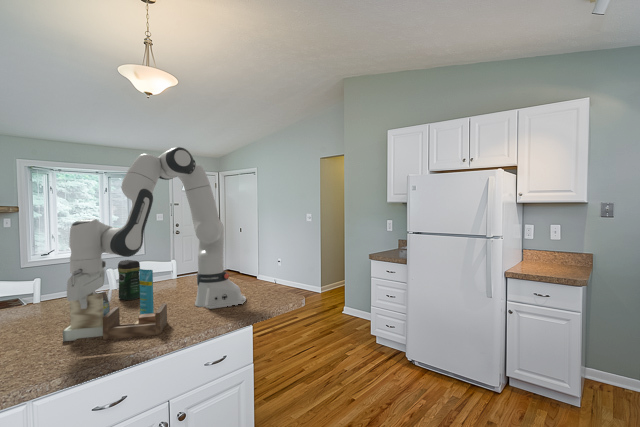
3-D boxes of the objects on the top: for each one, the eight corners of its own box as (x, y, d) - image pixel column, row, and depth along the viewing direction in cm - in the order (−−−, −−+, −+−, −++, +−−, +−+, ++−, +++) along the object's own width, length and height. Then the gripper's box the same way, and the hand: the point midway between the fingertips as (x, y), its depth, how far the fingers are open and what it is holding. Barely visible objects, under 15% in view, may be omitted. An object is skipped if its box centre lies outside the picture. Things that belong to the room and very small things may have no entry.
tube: (135, 317, 132) (133, 269, 132) (144, 313, 137) (143, 267, 136) (149, 319, 130) (148, 270, 129) (159, 315, 135) (158, 268, 134)
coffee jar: (143, 297, 161) (142, 259, 160) (127, 301, 154) (126, 262, 153) (132, 295, 165) (131, 258, 165) (115, 299, 158) (114, 260, 158)
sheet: (103, 327, 116) (102, 293, 116) (100, 329, 114) (100, 295, 113) (74, 329, 114) (73, 295, 113) (70, 332, 111) (69, 297, 111)
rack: (167, 324, 124) (166, 303, 124) (160, 335, 113) (160, 312, 113) (115, 328, 120) (114, 307, 120) (103, 341, 109) (102, 317, 109)
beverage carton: (86, 320, 130) (85, 303, 130) (85, 308, 145) (84, 293, 145) (110, 316, 135) (109, 300, 134) (106, 305, 150) (106, 290, 150)
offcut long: (158, 324, 122) (158, 318, 122) (156, 328, 119) (155, 322, 119) (137, 326, 121) (137, 320, 121) (134, 330, 117) (134, 324, 117)
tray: (111, 330, 118) (111, 321, 118) (105, 337, 112) (104, 327, 112) (71, 334, 115) (71, 324, 115) (63, 341, 109) (62, 330, 109)
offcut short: (157, 318, 122) (157, 312, 122) (155, 322, 119) (155, 315, 119) (140, 320, 121) (140, 314, 121) (138, 323, 117) (138, 317, 117)
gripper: (82, 272, 104) (84, 315, 104) (107, 261, 124) (108, 297, 124) (59, 273, 102) (60, 317, 103) (88, 262, 122) (89, 299, 122)
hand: (87, 306), depth 113 cm, fingers closed on sheet, 2 cm apart
